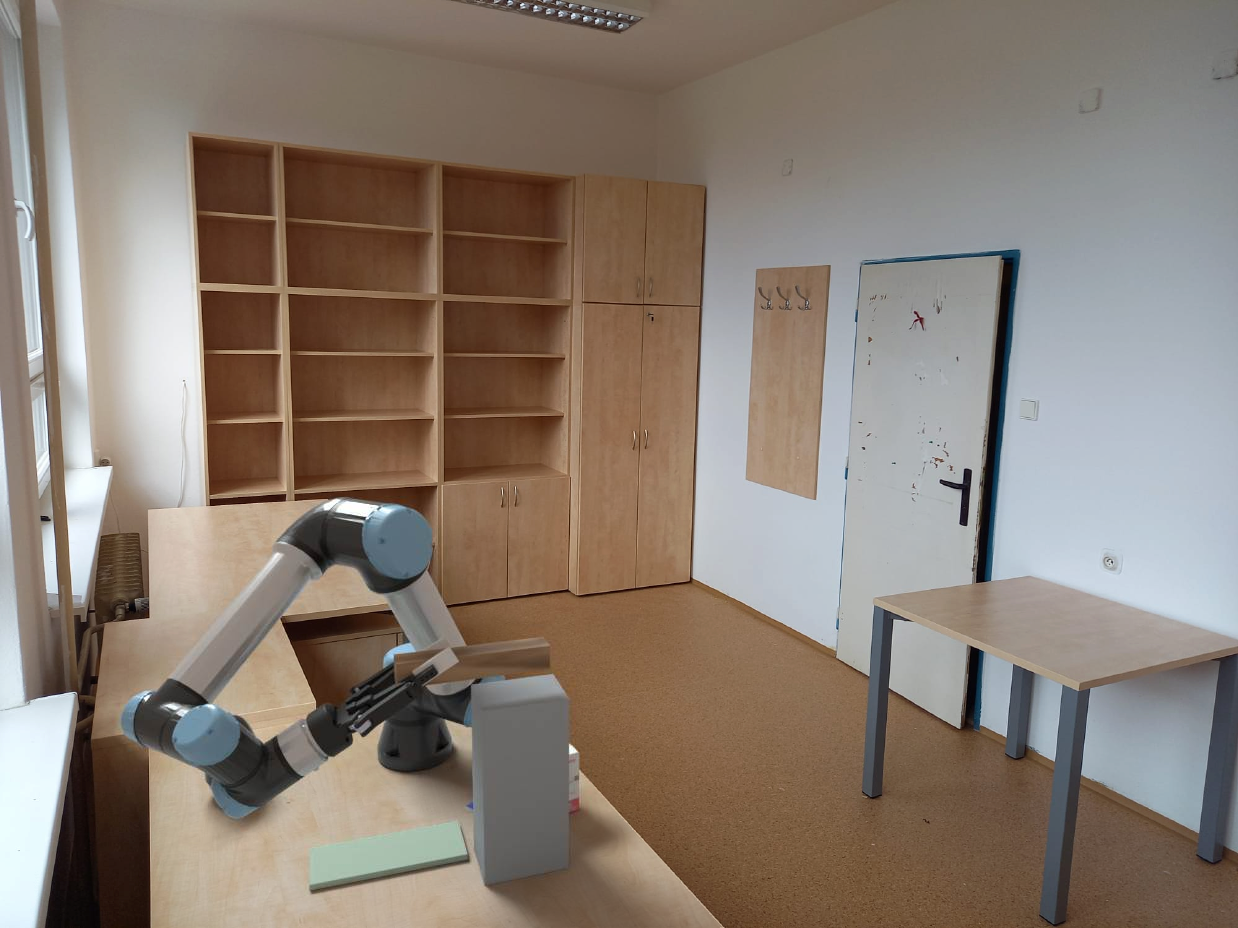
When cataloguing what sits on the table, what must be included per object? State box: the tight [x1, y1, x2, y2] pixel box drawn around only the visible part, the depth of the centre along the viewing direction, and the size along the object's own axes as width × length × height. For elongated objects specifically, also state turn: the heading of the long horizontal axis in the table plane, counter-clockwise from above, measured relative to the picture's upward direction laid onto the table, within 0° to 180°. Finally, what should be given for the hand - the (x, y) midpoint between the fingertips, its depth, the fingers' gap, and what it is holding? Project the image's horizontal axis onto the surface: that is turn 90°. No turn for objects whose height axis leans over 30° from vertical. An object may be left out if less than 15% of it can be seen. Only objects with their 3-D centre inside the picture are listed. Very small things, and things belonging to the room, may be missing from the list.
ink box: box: [569, 742, 580, 813], centre depth 157 cm, size 9×5×12 cm, turn 118°
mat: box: [308, 820, 469, 891], centre depth 143 cm, size 10×25×1 cm, turn 109°
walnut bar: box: [393, 636, 551, 686], centre depth 134 cm, size 4×24×4 cm, turn 110°
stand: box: [471, 673, 570, 886], centre depth 141 cm, size 10×14×30 cm
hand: (451, 648), depth 133 cm, fingers closed on walnut bar, 4 cm apart
